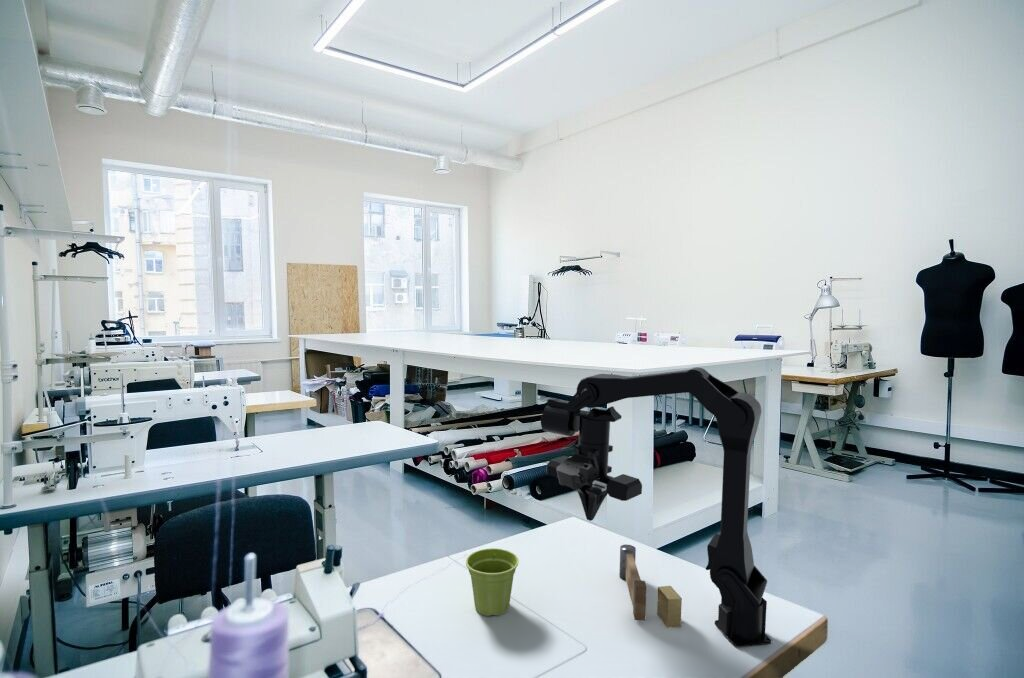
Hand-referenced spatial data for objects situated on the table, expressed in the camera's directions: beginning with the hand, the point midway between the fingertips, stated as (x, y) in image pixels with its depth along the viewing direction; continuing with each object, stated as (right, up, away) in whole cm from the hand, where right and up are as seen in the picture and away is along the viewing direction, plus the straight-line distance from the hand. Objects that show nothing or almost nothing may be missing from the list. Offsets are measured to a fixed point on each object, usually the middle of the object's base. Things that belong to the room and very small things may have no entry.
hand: (590, 519), depth 102 cm
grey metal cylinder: (+8, -13, +3) cm, 15 cm away
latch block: (+12, -14, -11) cm, 21 cm away
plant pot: (-19, -13, -7) cm, 24 cm away
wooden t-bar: (+7, -12, -5) cm, 15 cm away
